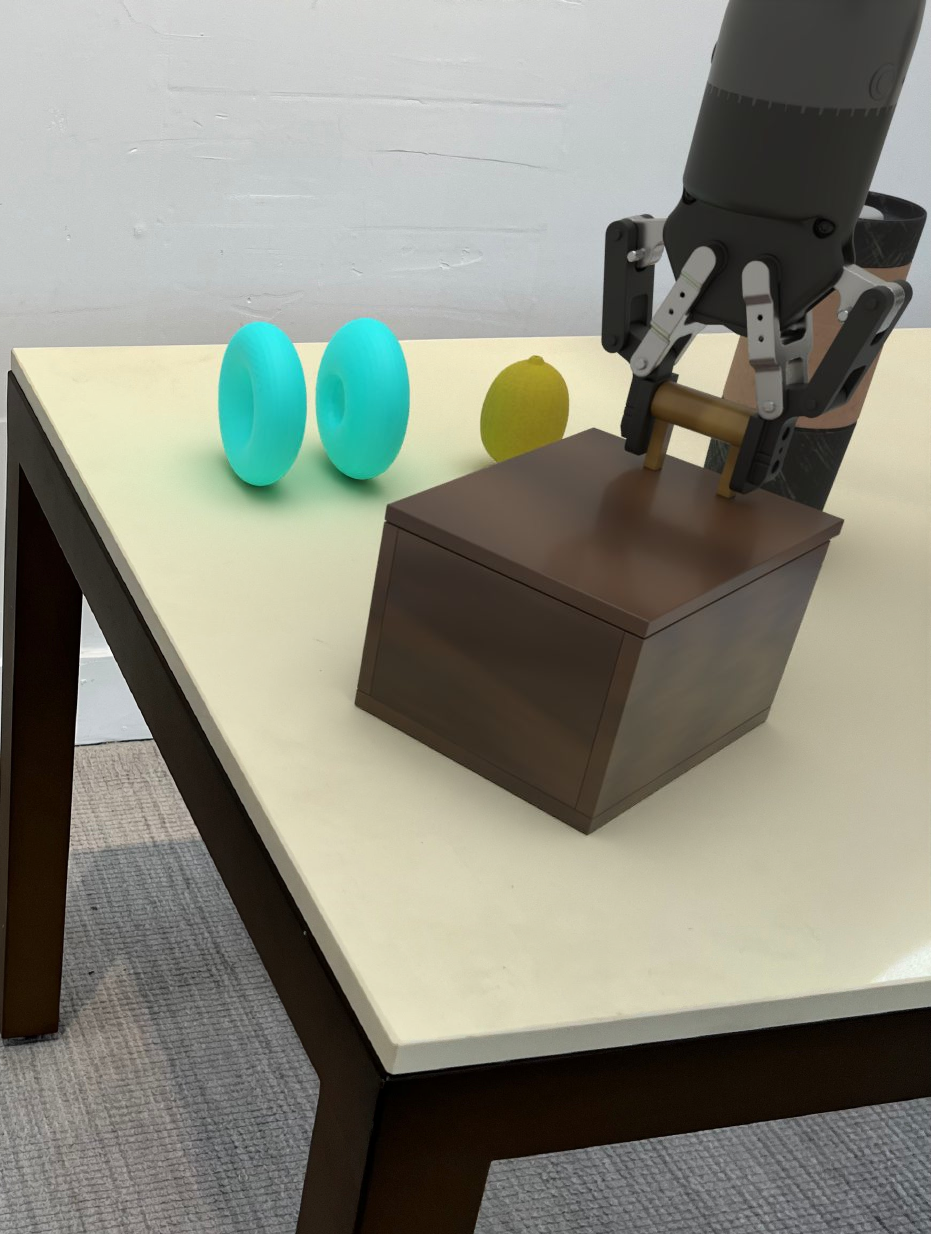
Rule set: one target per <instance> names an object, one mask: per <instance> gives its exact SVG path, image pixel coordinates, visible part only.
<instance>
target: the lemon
mask: <svg viewBox="0 0 931 1234" xmlns="http://www.w3.org/2000/svg"><path fill="white" fill-rule="evenodd" d="M569 415H570V393H569V388H568V386H567V383H566V380H565V379H564V377H563V376H562V373H560V371H559V370H557V368H555V367H554V365H552V364H551V363H548V362H546V361H545V360H544V358H543V356H541V355H535V354H534V355H531V356H530V357H529V358H528V359H523V360H518V361H516V362H514V363H512V364H510V365H508V366H506V367H505V368H504V369H502V370H501V371H500V372H499V373H498V374H497V376H495V378H494V379H493V381H492V382H491V384H490V386H489V387H488V390H487V392H486V394H485V397H484V400H483V403H482V406H481V411H480V418H479V434H480V440H481V443H482V445H483V447H484V450H485V451H486V453H487V454H488V456H489V457H490V458H491V459H492V460H494V461H495V462H496V464H497V463H500V462H502V461H505V460H508V459H510V458H513V457H516V456H518V455H521V454H524V453H526V452H529V451H532V450H534V449H537V448H540V447H542V446H545V445H548V444H550V443H553V442H556V441H558V440H561V439H564V435H565V432H566V429H567V425H568V421H569Z"/></svg>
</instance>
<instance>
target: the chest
mask: <svg viewBox="0 0 931 1234" xmlns="http://www.w3.org/2000/svg"><path fill="white" fill-rule="evenodd" d="M830 544H831V539H830V540H828V541H826V542H824V543H823V544H821V545H819V546H817V547H815V548H813V549H811V550H809V551H807V552H806V553H804V554H802V555H800V556H798V557H796V558H794V559H792V560H791V561H789V562H787V563H785V564H783V565H781V566H779V567H777V568H776V569H774V570H772V571H770V572H768V573H766V574H764V575H762V576H760V577H759V578H757V579H755V580H753V581H751V582H749V583H747V584H745V585H744V586H742V587H740V588H738V589H736V590H734V591H732V592H730V593H728V594H727V595H725V596H723V597H721V598H719V599H717V600H715V601H713V602H712V603H710V604H708V605H706V606H704V607H702V608H700V609H698V610H696V611H695V612H693V613H691V614H689V615H687V616H685V617H683V618H681V619H680V620H678V621H676V622H674V623H672V624H670V625H668V626H666V627H665V628H663V629H661V630H659V631H657V632H655V633H653V634H651V635H649V636H648V637H646V638H642V637H640V636H638V635H636V634H633V633H631V632H629V631H627V630H625V629H622V628H620V627H618V626H616V625H614V624H612V623H609V622H607V621H605V620H603V619H601V618H598V617H596V616H594V615H592V614H590V613H587V612H585V611H583V610H581V609H579V608H576V607H574V606H572V605H570V604H568V603H565V602H563V601H561V600H559V599H557V598H555V597H552V596H550V595H548V594H546V593H544V592H541V591H539V590H537V589H535V588H533V587H530V586H528V585H526V584H524V583H522V582H519V581H517V580H515V579H513V578H511V577H508V576H506V575H504V574H502V573H500V572H497V571H495V570H493V569H491V568H489V567H487V566H484V565H482V564H480V563H478V562H476V561H473V560H471V559H469V558H467V557H465V556H462V555H460V554H458V553H456V552H454V551H451V550H449V549H447V548H445V547H443V546H440V545H438V544H436V543H434V542H432V541H430V540H427V539H425V538H423V537H421V536H419V535H416V534H414V533H412V532H410V531H408V530H405V529H403V528H401V527H399V526H397V525H394V524H392V523H390V522H388V521H386V520H384V522H383V526H382V532H381V538H380V544H379V551H378V557H377V563H376V569H375V575H374V580H373V581H374V582H373V586H372V593H371V599H370V605H369V611H368V619H367V623H366V624H367V625H366V630H365V636H364V642H363V647H362V654H361V659H360V660H361V661H360V667H359V673H358V679H357V686H356V691H355V698H354V705H355V706H357V707H359V708H361V709H363V710H364V711H366V712H368V713H369V714H371V715H373V716H374V717H376V718H378V719H380V720H381V721H383V722H386V723H387V724H389V725H391V726H392V727H395V728H396V729H398V730H400V731H401V732H404V733H405V734H407V735H409V736H411V737H412V738H414V739H416V740H418V741H420V742H421V743H423V744H425V745H426V746H428V747H430V748H432V749H434V750H435V751H437V752H439V753H440V754H443V755H445V756H446V757H448V758H449V759H452V760H453V761H455V762H457V763H458V764H460V765H462V766H464V767H466V768H467V769H469V770H471V771H472V772H475V773H476V774H478V775H480V776H482V777H483V778H485V779H487V780H489V781H490V782H492V783H495V784H496V785H497V786H499V787H502V788H503V789H505V790H507V791H509V792H510V793H512V794H514V795H516V796H517V797H519V798H521V799H523V800H524V801H526V802H529V804H532V805H533V806H535V807H536V808H539V809H541V810H542V811H544V812H546V813H548V814H549V815H551V816H553V817H555V818H557V819H558V820H560V821H562V822H564V823H566V824H567V825H569V826H571V827H572V828H575V830H578V831H579V832H582V833H583V834H585V835H590V834H591V833H592V832H594V831H596V830H597V829H598V828H600V827H602V826H603V825H605V824H606V823H608V822H610V821H612V819H614V818H616V817H618V816H619V815H620V814H622V813H624V812H625V811H627V810H628V809H629V808H631V807H633V806H635V804H638V803H639V802H641V801H642V800H644V799H645V798H647V797H648V796H650V795H652V794H653V793H655V792H656V791H657V790H660V789H661V788H663V787H664V786H666V785H667V784H669V783H670V782H672V781H674V780H675V779H677V778H678V777H679V776H681V775H683V774H684V773H686V772H687V771H689V770H690V769H692V768H694V767H695V766H697V765H698V764H700V763H702V762H703V761H704V760H706V759H708V758H709V757H710V756H712V755H714V754H716V753H717V752H719V751H720V750H722V749H724V747H726V746H728V745H730V744H732V743H733V742H735V741H736V740H738V739H739V738H740V737H742V736H744V735H745V734H747V733H748V732H750V731H751V730H753V729H754V728H756V727H757V726H759V725H761V724H762V723H763V722H765V721H767V720H768V717H769V714H770V711H771V709H772V705H773V704H774V701H775V698H776V695H777V692H778V689H779V687H780V684H781V681H782V678H783V676H784V673H785V670H786V667H787V664H788V661H789V659H790V656H791V653H792V652H793V651H792V650H793V647H794V645H795V642H796V639H797V636H798V633H799V631H800V628H801V625H802V623H803V621H804V620H803V619H804V617H805V615H806V611H807V609H808V605H809V603H810V600H811V598H812V594H813V591H814V590H815V586H816V583H817V580H818V578H819V575H820V572H821V570H822V567H823V563H824V561H825V558H826V555H827V553H828V550H829V547H830Z"/></svg>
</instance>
